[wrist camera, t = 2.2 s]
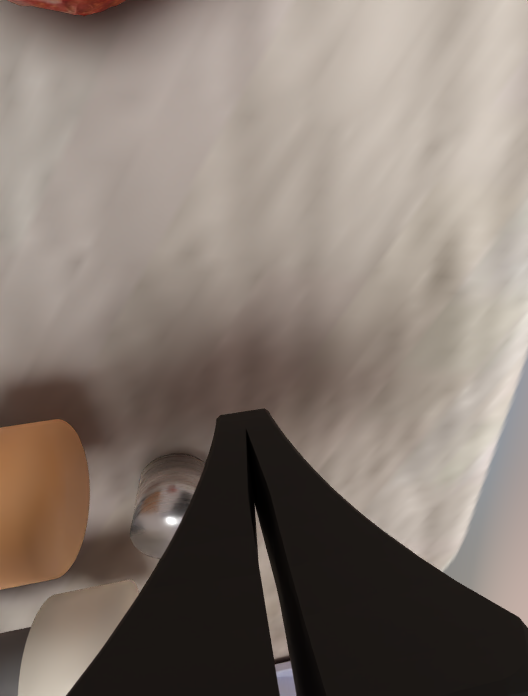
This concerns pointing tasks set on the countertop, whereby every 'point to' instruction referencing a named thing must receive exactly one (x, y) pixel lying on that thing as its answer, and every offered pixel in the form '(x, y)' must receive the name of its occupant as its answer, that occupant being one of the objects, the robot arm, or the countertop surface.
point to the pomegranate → (71, 5)
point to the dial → (163, 501)
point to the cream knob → (62, 639)
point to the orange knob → (41, 501)
